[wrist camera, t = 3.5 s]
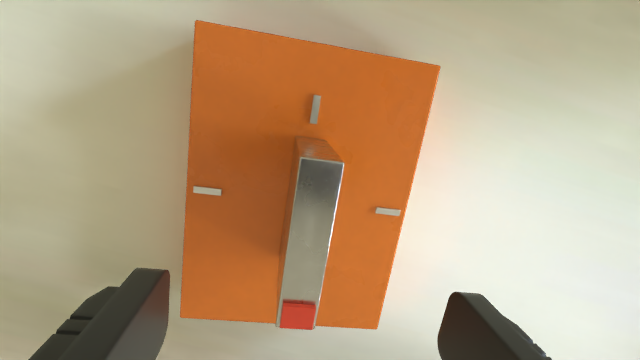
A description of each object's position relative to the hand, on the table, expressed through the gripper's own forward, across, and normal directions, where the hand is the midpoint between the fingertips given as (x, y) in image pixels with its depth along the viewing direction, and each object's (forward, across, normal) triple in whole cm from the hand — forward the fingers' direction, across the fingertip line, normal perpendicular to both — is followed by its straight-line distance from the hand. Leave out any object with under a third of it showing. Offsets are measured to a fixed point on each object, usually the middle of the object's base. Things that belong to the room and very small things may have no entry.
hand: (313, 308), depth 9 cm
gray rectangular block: (+8, 0, 0) cm, 8 cm away
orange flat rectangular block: (+12, 0, 0) cm, 12 cm away
